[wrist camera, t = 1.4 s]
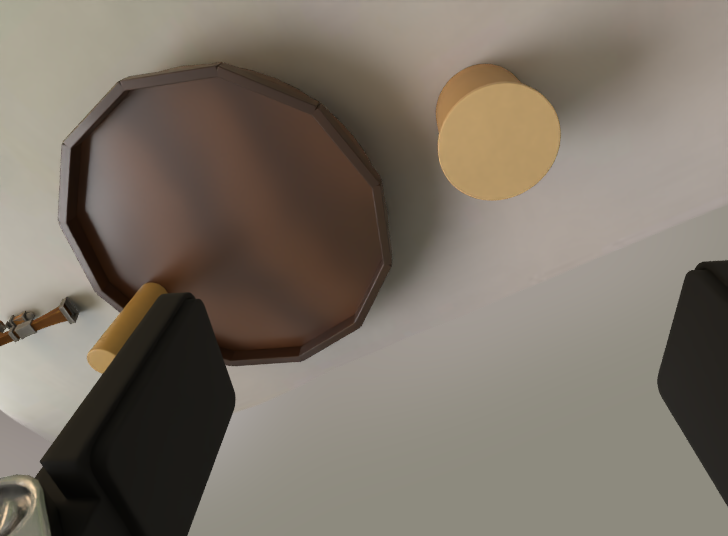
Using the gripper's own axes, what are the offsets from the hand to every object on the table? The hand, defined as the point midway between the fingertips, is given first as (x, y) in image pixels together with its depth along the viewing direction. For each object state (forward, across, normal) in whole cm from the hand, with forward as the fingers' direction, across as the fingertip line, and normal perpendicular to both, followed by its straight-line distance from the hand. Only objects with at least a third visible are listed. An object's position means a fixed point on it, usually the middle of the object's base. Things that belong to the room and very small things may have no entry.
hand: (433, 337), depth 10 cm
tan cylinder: (+24, -4, +2) cm, 25 cm away
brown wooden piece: (+25, +33, +16) cm, 44 cm away
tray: (+23, +13, +8) cm, 28 cm away
